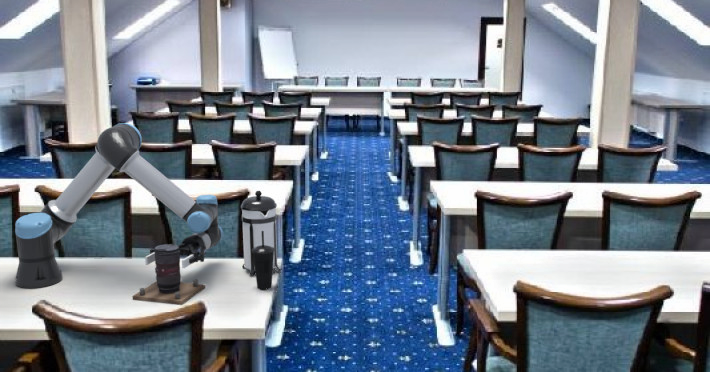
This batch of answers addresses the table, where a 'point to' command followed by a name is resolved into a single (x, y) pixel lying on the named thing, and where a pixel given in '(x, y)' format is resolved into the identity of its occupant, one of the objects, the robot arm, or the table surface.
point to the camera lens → (167, 268)
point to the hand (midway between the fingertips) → (164, 262)
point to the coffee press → (258, 227)
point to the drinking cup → (263, 265)
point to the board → (176, 297)
